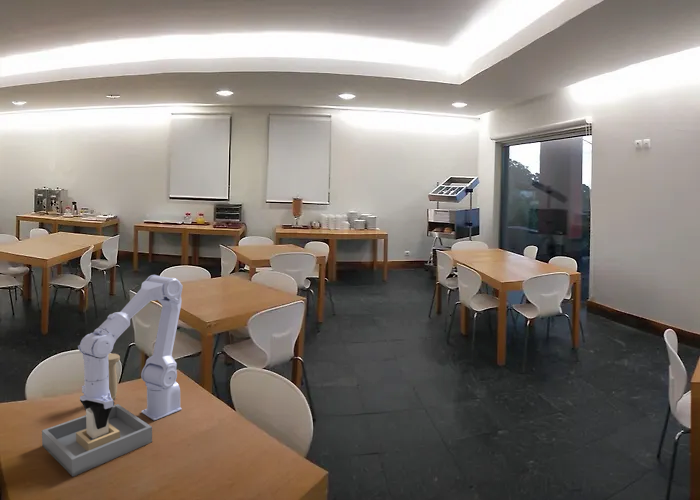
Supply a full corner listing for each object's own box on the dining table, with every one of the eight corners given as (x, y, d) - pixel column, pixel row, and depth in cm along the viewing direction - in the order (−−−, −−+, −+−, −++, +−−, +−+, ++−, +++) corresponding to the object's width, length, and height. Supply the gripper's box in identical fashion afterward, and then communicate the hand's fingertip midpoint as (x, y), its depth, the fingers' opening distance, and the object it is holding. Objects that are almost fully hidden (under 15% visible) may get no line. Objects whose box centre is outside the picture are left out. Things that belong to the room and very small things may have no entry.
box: (118, 417, 131) (118, 404, 130) (152, 441, 119) (152, 426, 119) (42, 445, 115) (41, 430, 114) (72, 476, 103) (72, 459, 103)
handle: (110, 404, 139) (109, 360, 137) (97, 399, 142) (96, 356, 140) (123, 398, 143) (123, 356, 141) (111, 394, 146) (110, 352, 144)
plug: (102, 427, 119) (101, 401, 118) (108, 432, 117) (108, 405, 116) (86, 433, 116) (85, 406, 115) (92, 438, 114) (92, 411, 113)
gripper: (69, 374, 116) (70, 421, 117) (92, 390, 107) (93, 440, 109) (96, 366, 121) (97, 411, 123) (121, 381, 113) (121, 429, 114)
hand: (97, 424), depth 116 cm, fingers closed on plug, 4 cm apart
